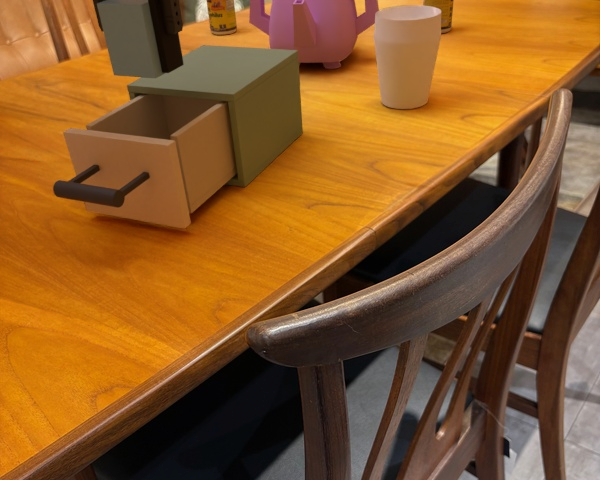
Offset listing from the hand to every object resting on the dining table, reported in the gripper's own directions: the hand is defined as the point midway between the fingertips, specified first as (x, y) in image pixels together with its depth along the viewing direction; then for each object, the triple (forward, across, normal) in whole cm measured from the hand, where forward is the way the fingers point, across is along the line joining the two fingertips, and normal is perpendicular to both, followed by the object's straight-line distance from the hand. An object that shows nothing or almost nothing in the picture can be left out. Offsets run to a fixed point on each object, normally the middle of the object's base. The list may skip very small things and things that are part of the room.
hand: (148, 66), depth 61 cm
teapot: (+14, +4, -52) cm, 54 cm away
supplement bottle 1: (+14, +31, -67) cm, 76 cm away
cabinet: (+14, 0, -12) cm, 19 cm away
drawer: (+13, 0, +3) cm, 14 cm away
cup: (+14, -17, -35) cm, 41 cm away
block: (0, 0, 0) cm, 0 cm away
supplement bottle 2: (+14, -12, -75) cm, 78 cm away
